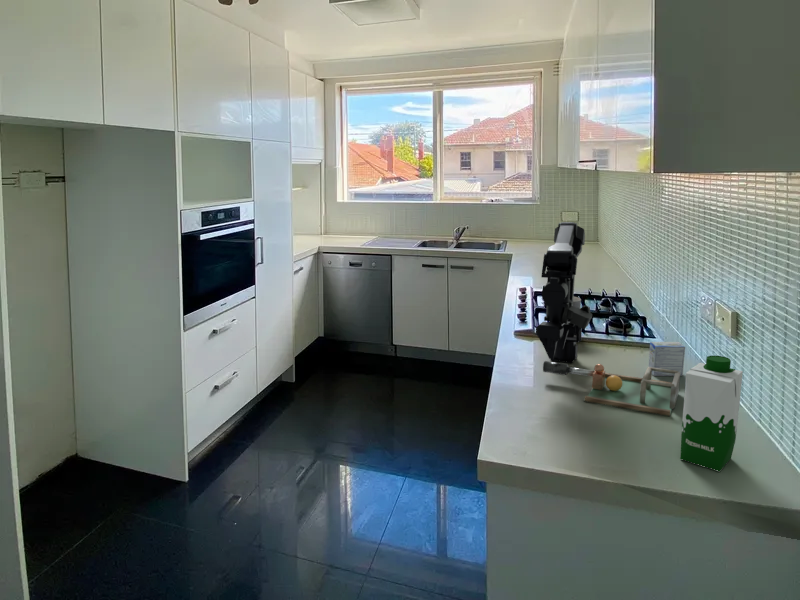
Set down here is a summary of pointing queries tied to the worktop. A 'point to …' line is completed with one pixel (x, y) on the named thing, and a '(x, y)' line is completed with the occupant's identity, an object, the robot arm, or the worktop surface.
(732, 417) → the milk carton
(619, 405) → the pitch
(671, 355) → the medicine box
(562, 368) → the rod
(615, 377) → the ball
